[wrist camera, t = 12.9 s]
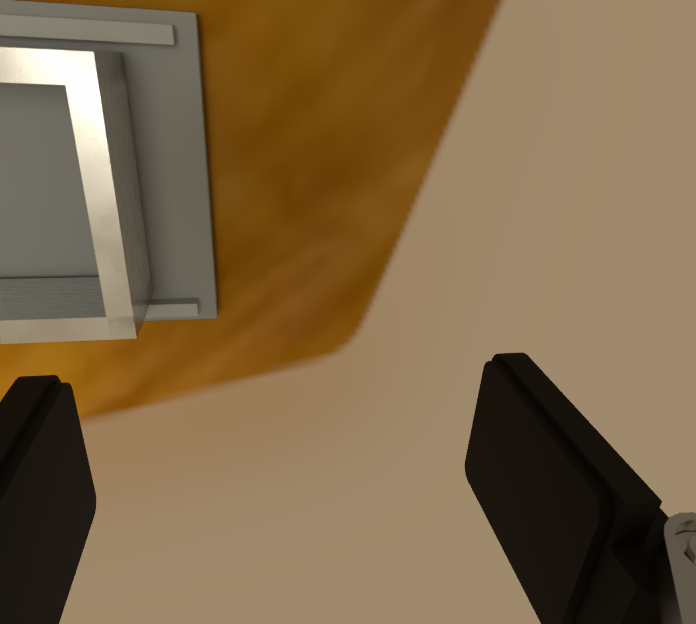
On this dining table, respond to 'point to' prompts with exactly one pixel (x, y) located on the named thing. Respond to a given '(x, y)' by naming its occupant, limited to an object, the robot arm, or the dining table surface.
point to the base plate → (149, 144)
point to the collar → (102, 204)
